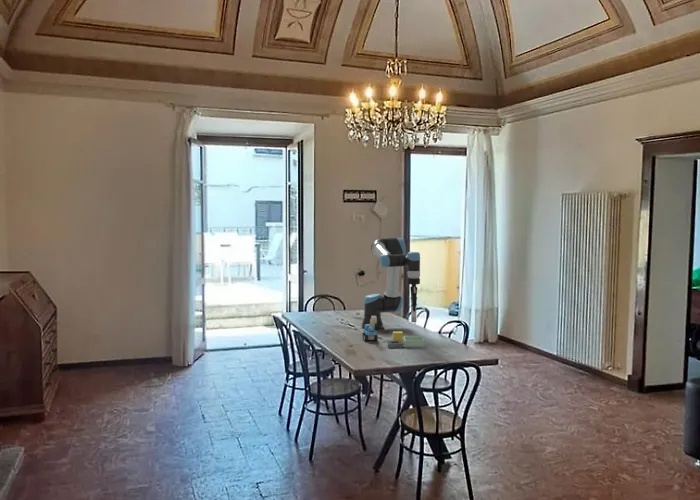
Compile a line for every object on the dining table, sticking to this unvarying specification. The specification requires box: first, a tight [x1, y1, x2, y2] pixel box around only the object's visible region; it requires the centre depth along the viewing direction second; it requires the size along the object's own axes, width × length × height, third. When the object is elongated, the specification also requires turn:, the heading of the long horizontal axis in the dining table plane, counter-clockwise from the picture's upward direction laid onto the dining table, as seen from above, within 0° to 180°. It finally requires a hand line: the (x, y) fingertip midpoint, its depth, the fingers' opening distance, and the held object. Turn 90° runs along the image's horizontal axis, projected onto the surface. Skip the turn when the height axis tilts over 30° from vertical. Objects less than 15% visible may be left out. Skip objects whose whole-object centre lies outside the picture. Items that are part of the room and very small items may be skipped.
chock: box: [392, 331, 404, 342], centre depth 374 cm, size 4×6×6 cm, turn 89°
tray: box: [403, 335, 426, 349], centre depth 363 cm, size 12×12×4 cm
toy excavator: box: [361, 316, 379, 342], centre depth 376 cm, size 9×17×17 cm, turn 11°
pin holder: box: [386, 340, 404, 349], centre depth 362 cm, size 9×9×2 cm
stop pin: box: [409, 296, 417, 323], centre depth 362 cm, size 4×4×15 cm
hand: (413, 315), depth 362 cm, fingers closed on stop pin, 3 cm apart
